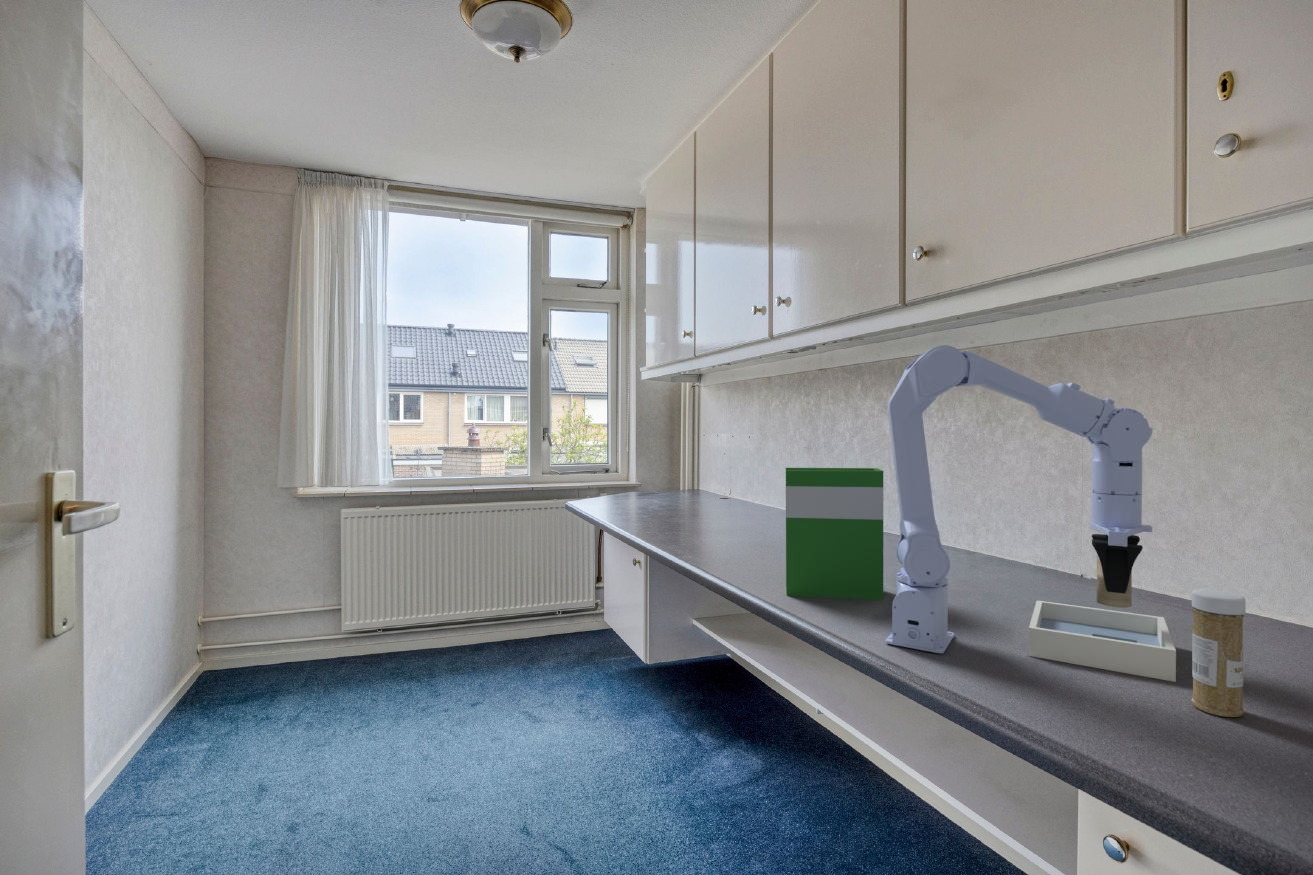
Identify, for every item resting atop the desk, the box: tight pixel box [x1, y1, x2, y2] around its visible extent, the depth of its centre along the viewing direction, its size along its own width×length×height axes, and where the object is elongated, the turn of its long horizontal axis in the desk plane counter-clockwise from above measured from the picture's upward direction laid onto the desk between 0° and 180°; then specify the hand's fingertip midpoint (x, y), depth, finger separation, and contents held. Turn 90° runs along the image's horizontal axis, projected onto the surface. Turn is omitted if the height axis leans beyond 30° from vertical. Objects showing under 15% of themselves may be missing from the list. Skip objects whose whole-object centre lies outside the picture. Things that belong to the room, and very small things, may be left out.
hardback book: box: [785, 467, 884, 601], centre depth 121 cm, size 18×7×24 cm, turn 79°
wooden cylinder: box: [1096, 553, 1133, 609], centre depth 89 cm, size 4×4×8 cm
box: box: [1028, 600, 1177, 683], centre depth 90 cm, size 16×16×4 cm
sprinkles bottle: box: [1191, 588, 1247, 718], centre depth 71 cm, size 5×5×14 cm
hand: (1115, 588), depth 89 cm, fingers closed on wooden cylinder, 4 cm apart
